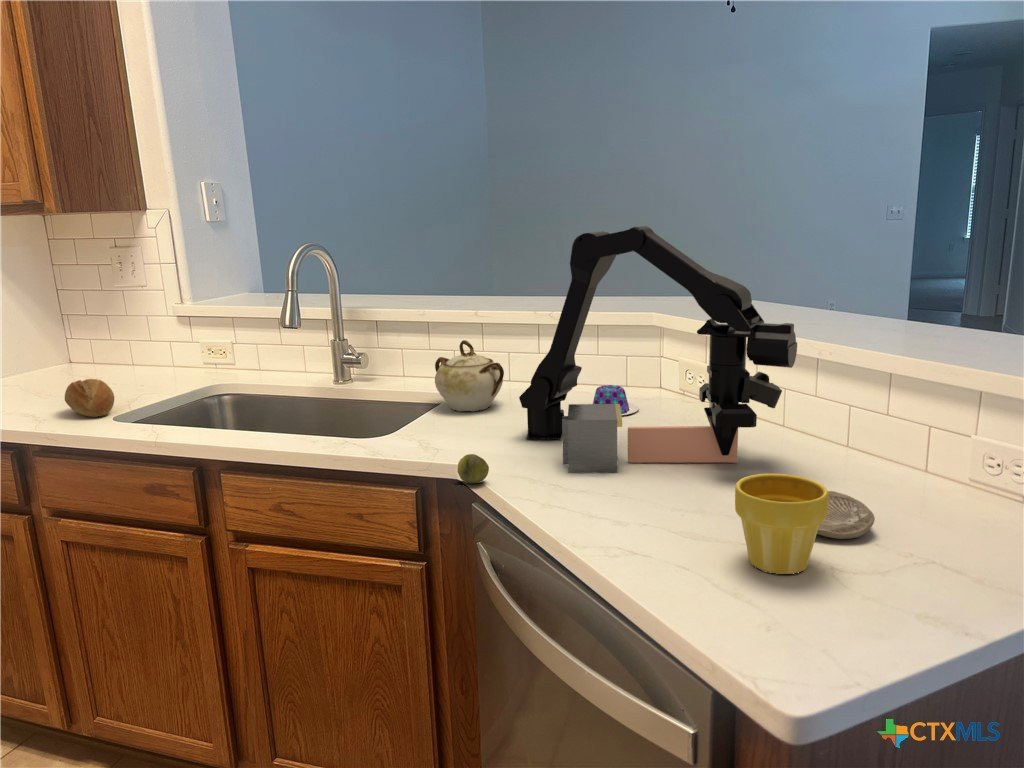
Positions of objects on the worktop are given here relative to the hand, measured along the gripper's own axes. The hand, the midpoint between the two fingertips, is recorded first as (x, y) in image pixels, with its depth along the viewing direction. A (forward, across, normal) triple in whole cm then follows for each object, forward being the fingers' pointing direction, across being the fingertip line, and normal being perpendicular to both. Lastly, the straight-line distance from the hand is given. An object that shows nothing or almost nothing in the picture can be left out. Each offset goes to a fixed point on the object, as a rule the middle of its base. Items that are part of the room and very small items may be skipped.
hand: (724, 453), depth 129 cm
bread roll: (+2, +35, +136) cm, 140 cm away
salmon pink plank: (+1, 0, +7) cm, 7 cm away
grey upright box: (+2, 0, +22) cm, 22 cm away
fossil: (+2, -26, -9) cm, 28 cm away
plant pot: (+2, -37, 0) cm, 37 cm away
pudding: (+2, +34, +18) cm, 39 cm away
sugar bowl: (+2, +38, +49) cm, 61 cm away
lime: (+2, -10, +41) cm, 42 cm away
